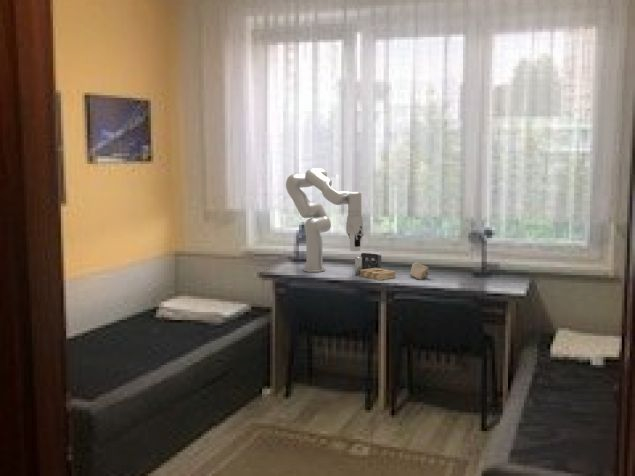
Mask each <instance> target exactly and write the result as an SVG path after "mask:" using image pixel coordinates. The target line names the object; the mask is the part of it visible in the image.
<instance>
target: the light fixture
mask: <svg viewBox="0 0 635 476" xmlns="http://www.w3.org/2000/svg"><path fill="white" fill-rule="evenodd" d="M360 257H362V270H364V269H370V268H380V269H382V254H381V253H380V252H370V253H369V252H368V253H367V252H361V254H360Z"/></svg>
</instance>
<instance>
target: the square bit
mask: <svg viewBox="0 0 635 476" xmlns="http://www.w3.org/2000/svg"><path fill="white" fill-rule="evenodd" d="M358 234H359V233H358ZM358 236H359V235H358ZM355 240H356V235H355V234H350V239H349V251H351V252H360V251H361V245H360V246H359V247H355Z"/></svg>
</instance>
